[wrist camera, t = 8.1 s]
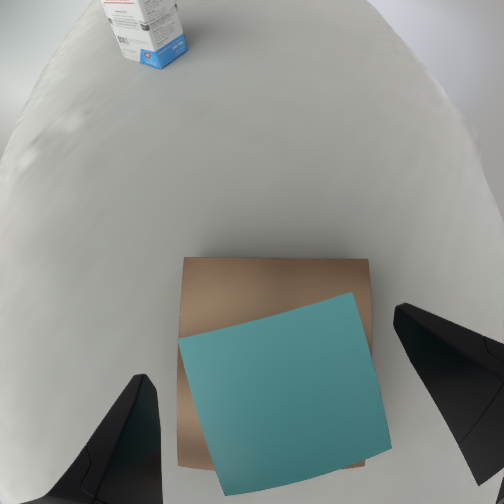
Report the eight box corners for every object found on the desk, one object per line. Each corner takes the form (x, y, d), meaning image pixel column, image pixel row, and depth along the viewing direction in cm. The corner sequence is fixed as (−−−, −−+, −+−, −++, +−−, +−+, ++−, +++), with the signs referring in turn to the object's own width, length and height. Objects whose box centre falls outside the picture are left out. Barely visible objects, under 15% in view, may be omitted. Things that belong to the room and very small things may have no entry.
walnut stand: (354, 454, 17) (364, 466, 14) (187, 453, 17) (178, 465, 15) (357, 268, 21) (368, 259, 18) (192, 267, 21) (184, 257, 19)
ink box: (189, 50, 30) (167, -48, 16) (160, 71, 29) (126, -32, 15) (150, 39, 32) (124, -43, 18) (123, 58, 31) (89, -26, 17)
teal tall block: (326, 396, 16) (391, 448, 6) (245, 419, 16) (225, 495, 6) (305, 320, 17) (351, 291, 8) (224, 342, 17) (177, 338, 8)
